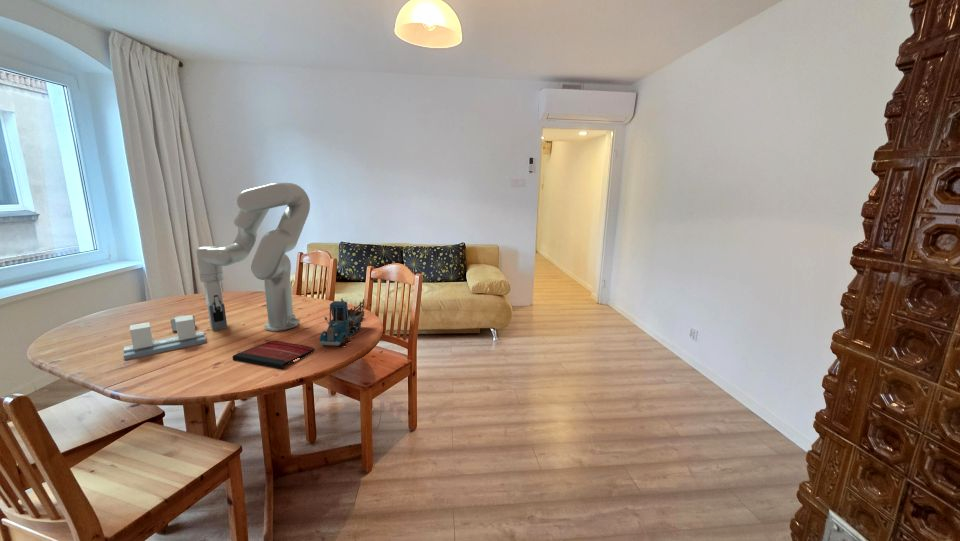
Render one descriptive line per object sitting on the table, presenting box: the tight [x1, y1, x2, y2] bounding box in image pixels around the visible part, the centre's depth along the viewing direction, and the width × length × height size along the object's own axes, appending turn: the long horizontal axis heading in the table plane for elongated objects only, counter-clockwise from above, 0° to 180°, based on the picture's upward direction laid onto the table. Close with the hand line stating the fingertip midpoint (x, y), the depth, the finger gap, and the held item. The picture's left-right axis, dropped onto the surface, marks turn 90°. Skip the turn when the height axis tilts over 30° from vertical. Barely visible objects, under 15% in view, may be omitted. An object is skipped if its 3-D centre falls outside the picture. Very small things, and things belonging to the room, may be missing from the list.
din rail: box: [123, 331, 205, 354], centre depth 131 cm, size 22×4×1 cm, turn 133°
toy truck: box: [319, 297, 365, 348], centre depth 142 cm, size 11×25×15 cm, turn 178°
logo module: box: [206, 303, 228, 331], centre depth 150 cm, size 5×6×10 cm
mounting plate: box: [123, 330, 207, 361], centre depth 132 cm, size 22×10×2 cm, turn 133°
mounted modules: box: [129, 314, 197, 349], centre depth 130 cm, size 17×6×7 cm, turn 133°
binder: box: [232, 340, 316, 370], centre depth 127 cm, size 16×2×21 cm
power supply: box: [169, 314, 197, 332], centre depth 148 cm, size 6×4×5 cm
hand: (217, 318), depth 150 cm, fingers closed on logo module, 6 cm apart
